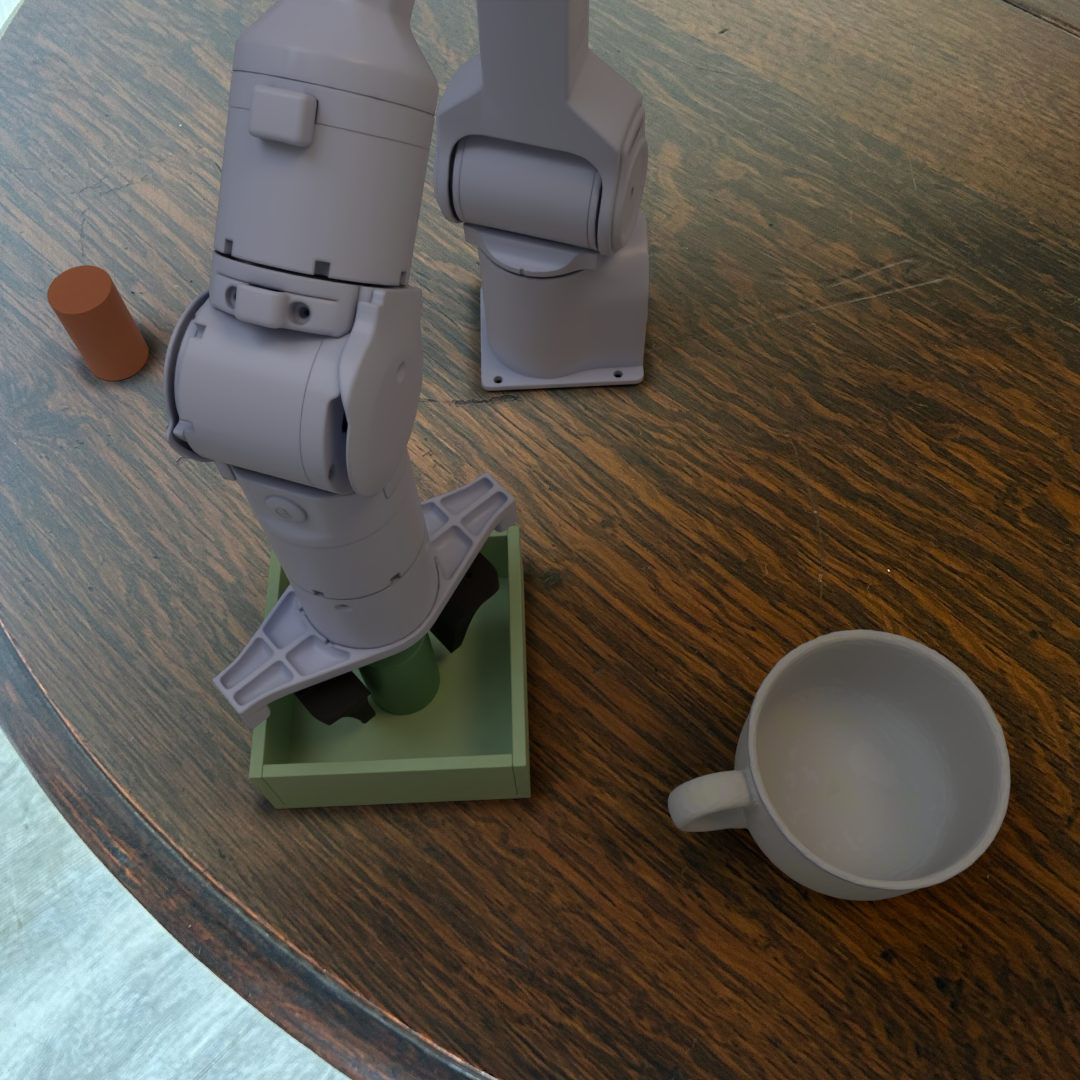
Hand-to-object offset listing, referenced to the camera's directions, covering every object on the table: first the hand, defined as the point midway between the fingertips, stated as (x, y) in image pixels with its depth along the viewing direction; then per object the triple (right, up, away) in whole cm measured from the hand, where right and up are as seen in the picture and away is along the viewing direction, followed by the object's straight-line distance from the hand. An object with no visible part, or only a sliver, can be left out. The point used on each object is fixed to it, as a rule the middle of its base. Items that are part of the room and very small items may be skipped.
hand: (401, 670), depth 53 cm
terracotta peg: (-19, +17, +13) cm, 28 cm away
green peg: (0, -1, +1) cm, 1 cm away
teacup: (+19, -6, -2) cm, 20 cm away
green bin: (0, -1, +2) cm, 2 cm away
